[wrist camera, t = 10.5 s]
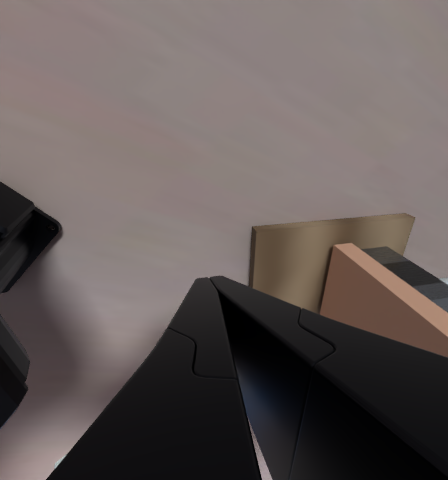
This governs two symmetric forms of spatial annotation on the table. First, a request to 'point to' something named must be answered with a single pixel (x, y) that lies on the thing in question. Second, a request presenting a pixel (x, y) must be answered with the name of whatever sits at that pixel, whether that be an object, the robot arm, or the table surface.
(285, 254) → the tan board
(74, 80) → the table surface
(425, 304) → the salmon pink upright block
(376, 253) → the charcoal metal brick
